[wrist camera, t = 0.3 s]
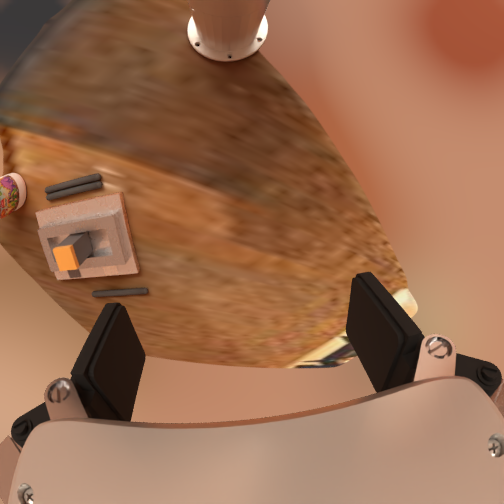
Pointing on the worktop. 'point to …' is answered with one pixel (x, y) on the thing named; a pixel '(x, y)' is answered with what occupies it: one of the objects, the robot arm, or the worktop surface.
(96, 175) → the cord
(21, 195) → the milk bottle
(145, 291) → the cord
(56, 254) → the block
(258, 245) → the worktop surface
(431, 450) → the robot arm
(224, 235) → the worktop surface
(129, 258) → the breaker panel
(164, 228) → the worktop surface
